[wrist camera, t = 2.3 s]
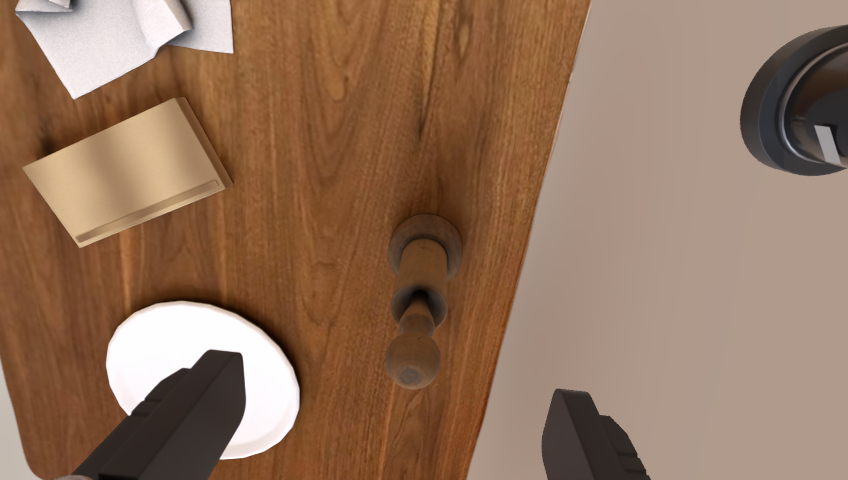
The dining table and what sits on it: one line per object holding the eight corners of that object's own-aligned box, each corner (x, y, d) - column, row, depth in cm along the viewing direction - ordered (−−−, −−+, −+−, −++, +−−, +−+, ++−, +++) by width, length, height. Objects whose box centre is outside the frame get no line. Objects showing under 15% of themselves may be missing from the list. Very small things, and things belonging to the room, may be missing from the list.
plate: (312, 454, 48) (309, 463, 47) (141, 449, 49) (133, 458, 48) (289, 297, 41) (285, 303, 39) (88, 294, 42) (77, 300, 40)
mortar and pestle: (413, 289, 40) (390, 441, 23) (376, 235, 38) (322, 357, 21) (474, 258, 38) (497, 395, 21) (439, 200, 36) (434, 300, 20)
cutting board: (185, 96, 34) (173, 97, 33) (234, 184, 37) (225, 189, 35) (37, 164, 37) (20, 167, 35) (92, 242, 39) (78, 248, 38)
